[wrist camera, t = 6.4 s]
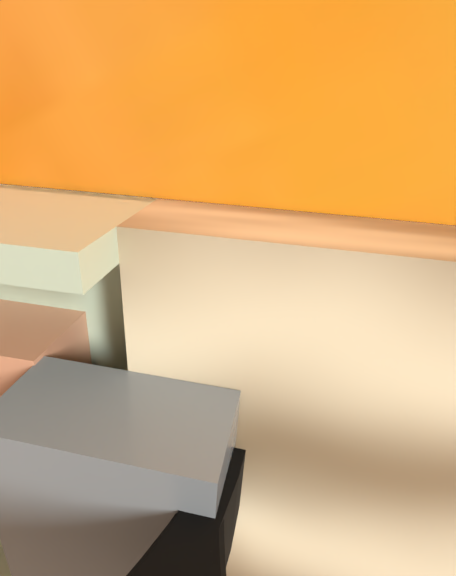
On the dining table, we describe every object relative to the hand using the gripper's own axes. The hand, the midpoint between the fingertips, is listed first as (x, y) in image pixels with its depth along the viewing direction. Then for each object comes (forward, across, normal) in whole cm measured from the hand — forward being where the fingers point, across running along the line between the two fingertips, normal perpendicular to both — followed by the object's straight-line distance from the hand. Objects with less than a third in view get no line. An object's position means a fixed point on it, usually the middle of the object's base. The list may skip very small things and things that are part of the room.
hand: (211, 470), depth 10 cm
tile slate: (0, +2, 0) cm, 2 cm away
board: (+3, -4, 0) cm, 5 cm away
